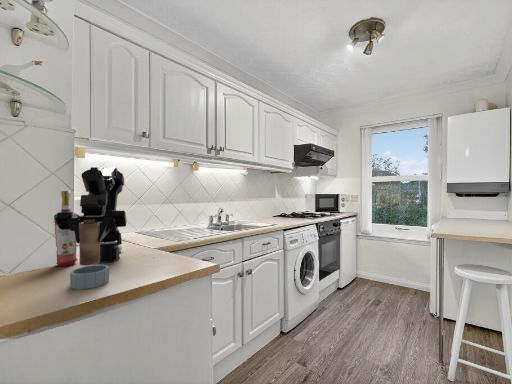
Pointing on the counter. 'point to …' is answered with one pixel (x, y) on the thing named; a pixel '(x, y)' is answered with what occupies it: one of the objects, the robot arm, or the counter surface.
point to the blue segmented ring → (89, 277)
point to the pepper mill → (89, 242)
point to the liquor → (65, 237)
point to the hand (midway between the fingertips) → (88, 241)
